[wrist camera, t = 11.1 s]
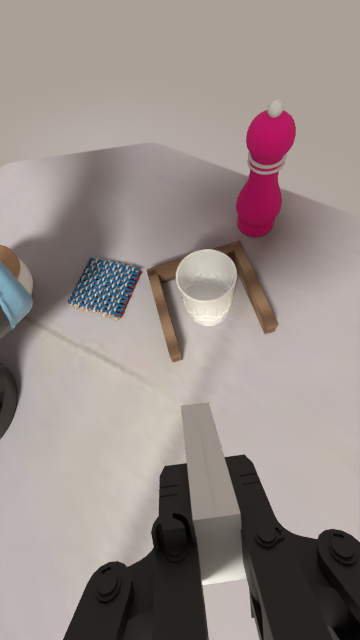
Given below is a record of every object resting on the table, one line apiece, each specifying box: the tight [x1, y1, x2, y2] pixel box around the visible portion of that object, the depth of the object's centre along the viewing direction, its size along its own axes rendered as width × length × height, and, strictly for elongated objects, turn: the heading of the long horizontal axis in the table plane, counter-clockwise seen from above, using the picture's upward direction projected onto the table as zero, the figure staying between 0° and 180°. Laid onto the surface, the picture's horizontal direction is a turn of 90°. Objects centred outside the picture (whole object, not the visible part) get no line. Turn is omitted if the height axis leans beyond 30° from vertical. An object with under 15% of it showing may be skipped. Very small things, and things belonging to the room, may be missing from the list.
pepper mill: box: [236, 99, 296, 237], centre depth 41 cm, size 7×7×20 cm
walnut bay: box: [147, 241, 278, 362], centre depth 43 cm, size 16×16×3 cm
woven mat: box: [68, 257, 142, 321], centre depth 48 cm, size 10×11×2 cm
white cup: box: [176, 249, 237, 326], centre depth 40 cm, size 8×8×10 cm
